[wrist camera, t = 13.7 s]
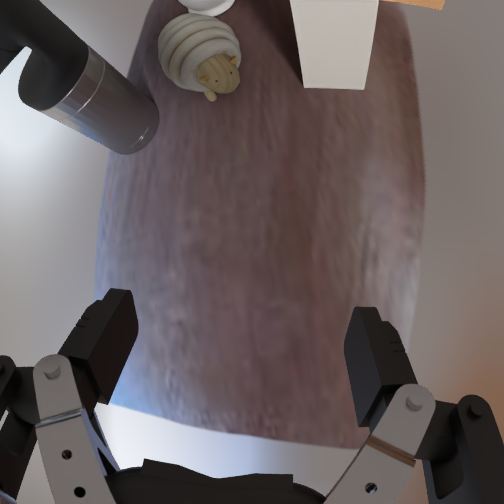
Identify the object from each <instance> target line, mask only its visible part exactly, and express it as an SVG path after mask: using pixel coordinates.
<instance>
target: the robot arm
mask: <svg viewBox="0 0 504 504" xmlns="http://www.w3.org/2000/svg"><path fill="white" fill-rule="evenodd" d="M25 46H27V47H29V48H31V49H32V52H31V54H30V56H29V58H28V60H27V62H26V64H25V66H24V68H23V71H22V73H21V76H20V80H19V85H18V93H19V97H20V99H21V100H22V101H23V103H25V104H26V105H28V106H30V107H32V108H34V109H36V110H38V111H40V112H42V113H44V114H46V115H47V116H49V117H51V118H53V119H55V120H57V121H59V122H61V123H63V124H65V125H67V126H69V127H70V128H72V129H74V130H76V131H78V132H80V133H82V134H84V135H85V136H87V137H89V138H91V139H93V140H95V141H97V142H99V143H100V144H102V145H104V146H106V147H108V148H109V149H111V150H113V151H115V152H117V153H120V154H131V153H134V152H136V151H138V150H140V149H141V148H143V147H144V146H145V145H146V144H147V143H148V142H149V141H150V140H151V138H152V137H153V135H154V134H155V132H156V129H157V127H158V122H159V113H158V109H157V107H156V106H155V105H154V104H153V103H152V102H151V101H150V100H149V99H148V98H147V97H146V96H145V95H144V94H143V93H142V92H141V91H140V90H138V89H137V88H136V87H135V86H134V85H133V84H132V83H131V82H130V81H128V80H127V79H126V78H125V77H124V76H123V75H122V74H121V73H119V72H118V71H117V70H116V69H115V68H114V67H113V66H111V65H110V64H109V63H108V62H107V61H106V60H105V59H104V58H102V57H101V56H100V55H99V54H98V53H97V52H95V51H94V50H93V49H92V48H91V47H90V46H88V45H87V44H86V43H85V42H84V41H83V40H81V39H80V38H79V37H78V36H77V35H76V34H75V33H74V32H73V31H72V30H71V29H70V28H69V27H68V26H67V25H66V24H64V23H63V22H62V21H61V20H60V19H59V18H58V17H56V16H55V15H54V14H53V13H52V12H51V11H50V10H49V9H48V8H46V7H45V6H44V5H43V4H42V3H41V2H40V1H39V0H0V74H1V73H2V72H3V70H4V69H5V68H6V67H7V66H8V65H9V63H10V62H11V61H12V60H13V59H14V58H15V57H16V56H17V55H18V54H19V52H20V51H21V50H22V49H23V48H24V47H25ZM137 335H138V319H137V314H136V310H135V305H134V300H133V295H132V292H131V291H130V290H124V289H115V288H111V289H109V291H108V292H107V293H106V295H105V296H104V298H103V300H97V301H96V302H94V303H93V304H92V305H90V306H89V307H88V308H87V309H86V310H85V312H84V313H83V315H82V316H81V319H79V321H78V322H77V324H76V327H74V328H73V330H72V331H71V333H70V335H69V336H68V338H67V339H66V341H65V342H64V344H63V346H62V347H61V349H60V350H59V352H58V354H55V355H49V356H46V357H44V358H42V359H41V360H40V361H39V362H38V363H37V364H36V366H35V367H16V365H15V363H14V362H13V360H12V359H11V358H10V357H8V356H4V355H1V356H0V421H1V418H2V416H3V414H4V412H5V410H7V411H8V412H9V413H8V415H7V417H6V420H5V422H4V424H3V426H2V428H1V430H0V504H17V503H16V499H17V495H18V492H19V489H20V486H21V483H22V480H23V477H24V474H25V471H26V468H27V465H28V463H29V460H30V457H31V455H32V452H33V449H34V446H35V444H36V441H37V439H38V444H39V448H40V452H41V456H42V460H43V464H44V468H45V471H46V475H47V479H48V482H49V485H50V488H51V492H52V495H53V498H54V501H55V504H395V502H396V500H397V498H398V497H399V495H400V493H401V491H402V489H403V488H404V486H405V484H406V482H407V480H408V478H409V476H410V474H411V472H412V470H413V468H414V466H415V463H416V460H414V459H421V460H422V463H423V469H424V475H425V481H426V487H427V494H428V501H429V504H504V444H503V441H502V438H501V435H500V432H499V429H498V426H497V424H496V421H495V418H494V415H493V413H492V410H491V408H490V406H489V404H488V403H487V402H486V401H485V400H484V399H483V398H481V397H479V396H477V395H466V396H464V397H463V398H462V399H461V400H460V401H459V403H458V404H454V403H448V402H442V401H437V400H435V399H434V397H433V395H432V394H431V393H430V391H429V390H428V389H426V388H425V387H423V386H421V385H418V383H417V380H416V377H415V375H414V372H413V369H412V367H411V364H410V362H409V359H408V356H407V354H406V353H405V349H404V346H403V344H402V341H401V339H400V336H399V334H398V331H397V330H396V329H395V328H394V327H393V326H392V325H391V324H390V323H389V322H388V321H382V320H381V318H380V315H379V313H378V310H377V308H376V307H355V308H354V310H353V313H352V316H351V320H350V323H349V327H348V330H347V333H346V337H345V341H344V355H345V360H346V365H347V370H348V374H349V379H350V384H351V389H352V395H353V400H354V405H355V411H356V416H357V422H358V427H369V429H370V435H369V436H368V438H367V440H366V441H365V443H364V444H363V446H362V447H361V449H360V450H359V452H358V453H357V455H356V456H355V458H354V459H353V461H352V462H351V464H350V465H349V466H348V468H347V469H346V470H345V472H344V473H343V475H342V476H341V477H340V479H339V480H338V481H337V483H336V484H335V485H334V486H333V488H332V489H331V490H330V492H329V493H328V494H327V495H326V497H325V496H323V495H322V494H320V493H319V492H317V491H315V490H313V489H311V488H309V487H307V486H304V485H301V484H297V483H293V474H258V473H255V474H248V475H242V476H235V477H227V478H212V477H209V476H206V475H204V474H201V473H198V472H195V471H193V470H190V469H188V468H185V467H183V466H180V465H176V464H170V463H165V462H159V461H154V460H149V459H144V462H143V465H142V467H132V468H127V469H122V470H120V468H119V466H118V464H117V463H116V461H115V459H114V457H113V456H112V453H111V451H110V449H109V446H108V444H107V441H106V439H105V436H104V434H103V431H102V429H101V426H100V423H99V421H98V418H97V415H96V412H95V410H94V408H95V406H96V404H97V402H98V403H103V404H106V405H108V403H109V401H110V399H111V396H112V394H113V391H114V389H115V387H116V384H117V382H118V379H119V377H120V375H121V372H122V370H123V368H124V365H125V363H126V361H127V359H128V356H129V354H130V352H131V350H132V347H133V345H134V343H135V341H136V338H137Z"/></svg>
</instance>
